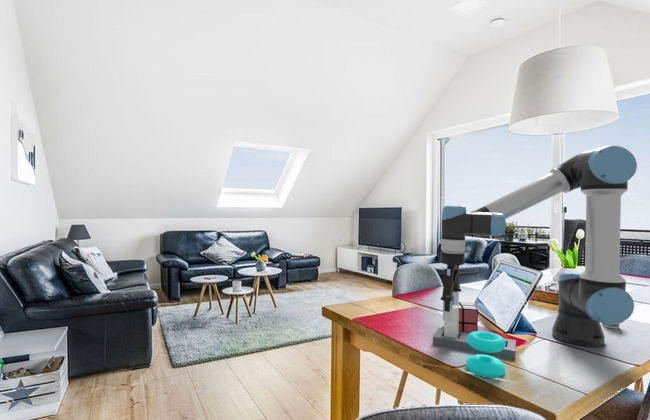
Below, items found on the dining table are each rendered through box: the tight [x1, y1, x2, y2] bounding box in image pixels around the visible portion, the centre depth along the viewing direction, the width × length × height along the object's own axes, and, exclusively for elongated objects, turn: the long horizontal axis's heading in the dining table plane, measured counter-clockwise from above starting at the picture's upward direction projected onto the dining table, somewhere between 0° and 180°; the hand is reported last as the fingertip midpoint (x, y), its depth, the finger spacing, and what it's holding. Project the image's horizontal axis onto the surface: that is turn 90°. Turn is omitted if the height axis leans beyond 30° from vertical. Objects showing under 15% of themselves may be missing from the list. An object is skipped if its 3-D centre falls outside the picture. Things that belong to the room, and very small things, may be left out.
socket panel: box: [432, 327, 517, 361], centre depth 119 cm, size 24×10×3 cm, turn 62°
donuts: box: [465, 330, 506, 379], centre depth 102 cm, size 10×10×10 cm
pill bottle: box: [601, 323, 621, 329], centre depth 142 cm, size 5×5×10 cm
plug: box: [443, 295, 459, 339], centre depth 122 cm, size 5×4×16 cm
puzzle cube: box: [458, 301, 479, 333], centre depth 134 cm, size 10×10×10 cm
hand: (450, 315), depth 122 cm, fingers open, 13 cm apart
